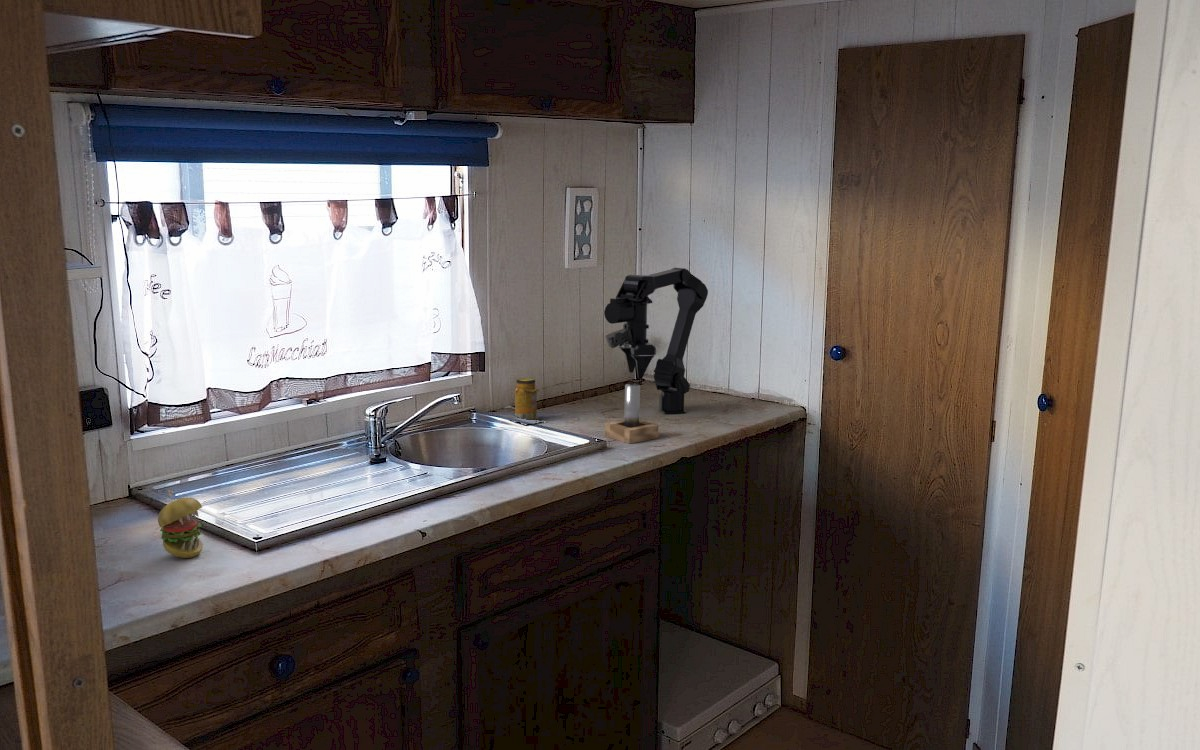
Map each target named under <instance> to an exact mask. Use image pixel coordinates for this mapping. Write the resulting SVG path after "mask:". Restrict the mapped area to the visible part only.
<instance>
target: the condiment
mask: <svg viewBox="0 0 1200 750" xmlns="http://www.w3.org/2000/svg"><path fill="white" fill-rule="evenodd" d="M515 382H516V385H515V386H516V388H515V390H514V418H515V417H517V418H521V419H526V420H536V419H537V406H538V405H537V404H538V403H537V402H538V401H537V400H538V399H537V397H538V395H537V393H538V392H537V388H536V379H535V378H531V377H520V378H519V377H518V378H517V379H516V381H515ZM543 421H544V420H543ZM544 423H546V421H544Z"/></svg>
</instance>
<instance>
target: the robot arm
mask: <svg viewBox="0 0 1200 750" xmlns="http://www.w3.org/2000/svg"><path fill="white" fill-rule="evenodd" d="M667 286H668V287H669V286H673V289H674V290H675V291H676V293H677V295H676V296H677V297H676V301H677V305H678V308H679V309H678V313H677V316H676V319H675V322H674V327H673V331H672V334H671V337H670V341H669V345H668V348H667V352H666V355H665V356H664V357H663V358H658V359H657V360H656V364H655V368H654V369H653V372H654V374H653V379H654V384H655V387H656V391H660V395H659V397H658V399H659V401H658V410H659V411H661V412H662V413H663V414H664V415H669V414H670V415H671V414H686V412H687V411H686V410H685V394H687V393H689V392H690V388H691V384H690V383H689V381H688V380H687V378H686V377H685V375H686V374H685V373H686V368H685V363H684V361H683V360H684V357H685V352H686V349H687V346H688V342H689V339H690V335H691V331H692V328H693V324H694V321H695V318H696V315H697V313H698V312H699V311H700V310H701V308H703V307H704V305H705V303H706V301H707V298H708V295H709V290H708V288H707V285H706V284H705V283H704V282H703V281H702V280H701V279H699V278H698V277H696V276H695V275H694V274H693V273H691V271H690V270H688V269H687V268H683V267H672V268H670V269H667V270H663V271H660V272H659V271H658V272H654V273H650V274H628V275H626V276H625V278H624V280H623V282H622V284H621V286H620V288H619V290H618V292H617V294H616V296H615V298H613V297H612V298H611V297H610V300H609V303H608V304H606V306H605V309H604V317H605V320H606V322H608V323H609V324H621V323H624V324H622V325H623V326H622V327H623V328H622V329H619V330H615V331H613V332H611V333H608V334H606V335H605V339H606V342H607V345H608V347H610V348H611V349H614V348H618V349H619V350H620V351H622V353H623V354H624V356H625V360H626V364H627V369H628V373H630V374H632V373H634V372H635V371H634V370H635V369H636V373H637V379H639V380H640V379H641V380H642V379H644V375H645V373H646V371H647V370H648V367H649V365H650V363H651V362H652V360H653V358H654V357H655V355H656V354H657V347H656V346H655V345H654V344H652V343H650V342H649V339H648V338H647V336H648V335H647V334H648V333H647V330H648V329H650V328H649V327H650V325H649V324H647V323H648V304H649V305H651V304H653V300H652V299H651V298H650V297H649V296H650V295H651V294H654V292H655V291H656V290H657V289H661V288H664V287H665V288H666V287H667Z"/></svg>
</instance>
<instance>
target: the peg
mask: <svg viewBox="0 0 1200 750" xmlns="http://www.w3.org/2000/svg"><path fill="white" fill-rule="evenodd" d="M640 402H641V384H638V383H627V384H625V385H624V412H623V413H624V415H623V416H624V417H623V418H624V419H623V420H624V426H626V427H629V428H633V427H638V426H639V420H640V417H641V416H640V409H641V403H640Z"/></svg>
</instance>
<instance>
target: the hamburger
mask: <svg viewBox="0 0 1200 750" xmlns="http://www.w3.org/2000/svg"><path fill="white" fill-rule="evenodd" d="M167 494H168V495H169V497H170V500H171V501H170V502H169V503H168V504H166V505H165V506H164V507H163V508H161V510H160V511H159V514H158V516H157V523H158V525H159V527H160V529H159V532H161V537H160V539H161V540H162V545H163V548H164V550H165V551H166V552H167V553H168V554H170V555H171V556H174V557H176V558H181V559H190V558H194V557H196V556H198V555H199V554H200V553H201V552H202V551H203V545H204V544H203V542H202V540H200V538H199V536H201V535H202V534H201V531H200V528H201V527H202V524H201V523H198V520H196V519H197V518H198V517H200V516H199V512H198V511H199V510H201V508H203V507H202V504H201V502H200V501H198V500H197V499H196V498H193V497H182V498H178V499H176V500H172V495H173V494H174V490H169V489H167ZM185 517H186V518H185ZM190 517H191V518H190ZM193 517H194V518H195V519H194V518H193ZM196 517H197V518H196Z"/></svg>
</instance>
